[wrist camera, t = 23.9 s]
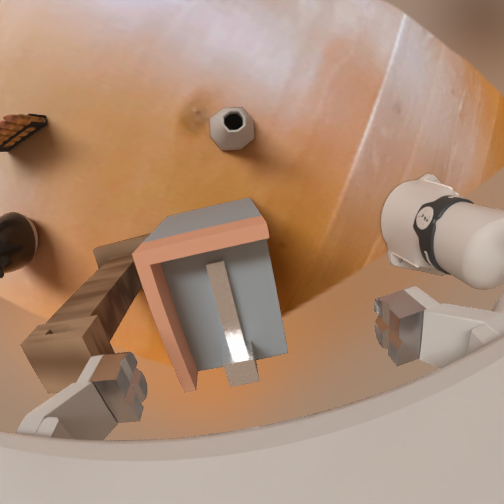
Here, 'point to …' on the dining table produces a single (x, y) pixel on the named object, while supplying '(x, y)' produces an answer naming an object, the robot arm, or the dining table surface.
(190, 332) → the slate crate
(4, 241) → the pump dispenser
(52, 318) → the walnut post
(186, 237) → the terracotta walls
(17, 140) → the ammunition clip
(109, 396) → the robot arm
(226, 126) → the flask
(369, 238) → the dining table surface
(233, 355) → the aluminium bracket
